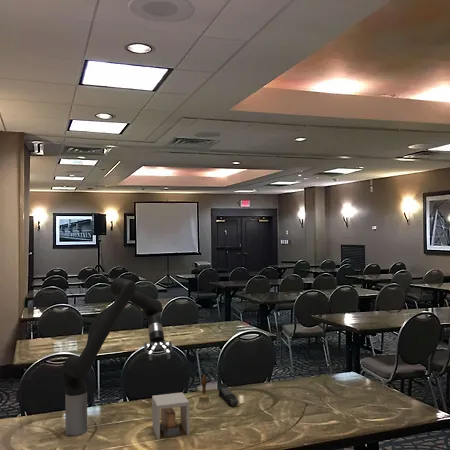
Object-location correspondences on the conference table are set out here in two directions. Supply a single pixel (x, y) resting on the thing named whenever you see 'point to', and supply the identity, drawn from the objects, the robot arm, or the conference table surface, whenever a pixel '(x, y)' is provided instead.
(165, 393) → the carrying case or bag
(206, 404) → the hand bell
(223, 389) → the gun
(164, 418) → the rounded end wooden stick
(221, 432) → the conference table surface
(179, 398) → the grey arch stand
